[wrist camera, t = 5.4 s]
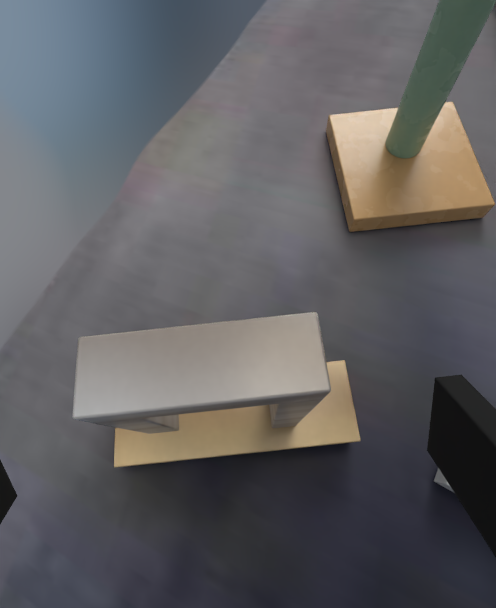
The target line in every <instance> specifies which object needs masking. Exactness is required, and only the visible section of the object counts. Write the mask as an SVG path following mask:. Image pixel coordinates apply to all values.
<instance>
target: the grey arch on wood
mask: <svg viewBox="0 0 496 608" xmlns="http://www.w3.org/2000/svg"><path fill="white" fill-rule="evenodd" d="M73 419H75V420H79V421H85V422H90V423H95V424H100V425H105V426H110V427H115V450H114V467H126V466H136V465H146V464H155V463H165V462H174V461H183V460H193V459H202V458H211V457H221V456H230V455H240V454H249V453H258V452H268V451H277V450H286V449H296V448H305V447H315V446H324V445H333V444H343V443H351V442H358V441H360V435H359V430H358V425H357V420H356V415H355V410H354V404H353V399H352V394H351V389H350V384H349V379H348V374H347V369H346V364H345V361H344V360H342V361H333V362H326V357H325V352H324V346H323V341H322V335H321V329H320V324H319V318H318V314H317V313H316V312H310V313H300V314H291V315H282V316H272V317H263V318H254V319H244V320H235V321H226V322H216V323H207V324H198V325H188V326H179V327H170V328H160V329H151V330H142V331H132V332H123V333H114V334H104V335H95V336H86V337H80V338H79V339H78V348H77V362H76V377H75V391H74V405H73Z"/></svg>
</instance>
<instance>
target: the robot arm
mask: <svg viewBox="0 0 496 608" xmlns="http://www.w3.org/2000/svg"><path fill="white" fill-rule="evenodd" d="M427 451H428V452H429V454H430V455H431V457H432V459H433V460H434V462H435V463H436V465H437V466H438V468H439V469H440V471H441V473H442V474H443V476H444V477H445V479H446V480H447V482H448V483H449V485H450V487H451V488H452V490H453V491H454V493H455V494H456V496H457V497H458V499H459V501H460V502H461V504H462V505H463V507H464V508H465V510H466V511H467V513H468V515H469V516H470V518H471V519H472V521H473V522H474V524H475V526H476V527H477V529H478V530H479V532H480V533H481V535H482V536H483V538H484V540H485V541H486V543H487V544H488V546H489V547H490V549H491V550H492V552H493V554H494V555H495V557H496V409H495V408H494V407H493V406H492V405H491V404H490V403H489V402H488V401H487V400H486V399H485V398H484V397H483V396H482V395H481V394H480V393H479V392H478V391H477V390H476V389H475V388H474V387H473V386H472V385H471V384H470V383H469V382H468V381H467V380H466V379H465V378H464V377H463V376H462V375H455V376H446V377H437V378H435V384H434V393H433V402H432V411H431V421H430V430H429V439H428V448H427ZM16 497H17V494H16V492H15V490H14V488H13V486H12V484H11V481H10V479H9V477H8V475H7V473H6V471H5V469H4V467H3V465H2V462H1V460H0V524H1V522H2V520H3V519H4V517H5V515H6V514H7V512H8V510H9V509H10V507H11V505H12V504H13V502H14V500H15V499H16Z"/></svg>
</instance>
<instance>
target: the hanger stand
mask: <svg viewBox="0 0 496 608" xmlns="http://www.w3.org/2000/svg"><path fill="white" fill-rule="evenodd" d="M495 3H496V0H439V3H438V5H437V8H436V11H435V13H434V16H433V19H432V21H431V24H430V26H429V29H428V32H427V34H426V37H425V39H424V42H423V45H422V47H421V50H420V52H419V55H418V58H417V60H416V63H415V66H414V68H413V71H412V73H411V76H410V79H409V81H408V84H407V86H406V89H405V92H404V94H403V97H402V99H401V102H400V105H399V107H398V108H390V109H380V110H371V111H362V112H353V113H344V114H334V115H329V118H328V123H327V128H326V133H327V138H328V142H329V146H330V150H331V155H332V159H333V163H334V168H335V172H336V176H337V181H338V185H339V189H340V194H341V198H342V202H343V206H344V211H345V215H346V219H347V224H348V228H349V231H350V232H354V231H363V230H373V229H382V228H391V227H400V226H410V225H419V224H428V223H437V222H447V221H456V220H465V219H475V218H483V217H484V216H485V215H486V214H487V213H488V212H489V210H490V209H491V208H492V207H493V206H494V205H495V203H494V200H493V198H492V195H491V193H490V191H489V188H488V186H487V183H486V181H485V178H484V176H483V174H482V171H481V169H480V166H479V164H478V161H477V159H476V157H475V154H474V152H473V149H472V147H471V144H470V142H469V140H468V137H467V135H466V132H465V130H464V128H463V125H462V123H461V120H460V118H459V115H458V113H457V111H456V108H455V106H454V103H453V102H445V101H446V99H447V97H448V96H449V94H450V92H451V90H452V88H453V86H454V84H455V82H456V80H457V78H458V76H459V74H460V72H461V70H462V68H463V66H464V64H465V62H466V60H467V58H468V56H469V54H470V52H471V50H472V48H473V46H474V44H475V42H476V41H477V39H478V37H479V35H480V33H481V31H482V29H483V27H484V25H485V23H486V21H487V19H488V17H489V15H490V13H491V11H492V9H493V7H494V5H495Z"/></svg>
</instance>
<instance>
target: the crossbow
mask: <svg viewBox="0 0 496 608" xmlns="http://www.w3.org/2000/svg"><path fill="white" fill-rule="evenodd" d="M434 482H436V483H438V484H439V485H441V486H443V487H445V488H447V489H448V490H450V491H452V492H454V491H453V490H452V488H451V487H450V485H449V483H448V482H447V480H446V479H445V477H444V476H443V474H442V473H441V471H440V469H439V468H438V471H437V473H436V476H435V479H434Z"/></svg>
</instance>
